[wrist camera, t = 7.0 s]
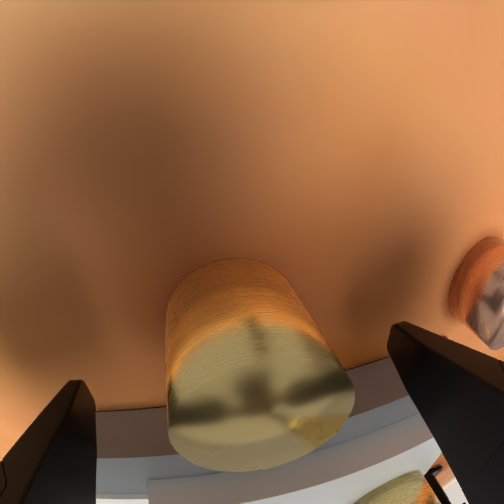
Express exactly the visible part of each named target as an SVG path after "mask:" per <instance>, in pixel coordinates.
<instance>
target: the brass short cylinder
mask: <svg viewBox="0 0 504 504" xmlns="http://www.w3.org/2000/svg"><path fill="white" fill-rule="evenodd" d="M354 504H441V503H440V501H439V500H438V498H437V496H436V495H435V493H434V492H433V490H432V488H431V487H430V485H429V484H428V482H427V480H426V479H425V477H424V475H423V474H422V472H421V471H420V470H414V471H410V472H408V473H405V474H403V475H400V476H398V477H396V478H394V479H392V480H390V481H388V482H386V483H384V484H382V485H381V486H379V487H377V488H375V489H374V490H372V491H370V492H369V493H367V494H366V495H364V496H363V497H361V498H360V499H358V500H357V501H356V502H355V503H354Z"/></svg>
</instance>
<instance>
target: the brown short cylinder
mask: <svg viewBox="0 0 504 504" xmlns="http://www.w3.org/2000/svg"><path fill="white" fill-rule="evenodd" d="M448 303H449V308H450V311H451V313H452V314H453V315H454V316H455V317H456V318H458V319H459V320H460V321H461V322H462V323H463V324H464V325H465V326H466V327H468V328H469V329H470V330H471V331H472V332H473V333H474V334H475V335H476V336H477V337H478V338H480V339H481V340H482V341H483V342H484V343H485V344H486V345H487V346H488V347H489V348H490V349H492V350H497V349H500V348H502V347H504V242H503V241H501V240H499V239H497V238H495V237H487V238H485V239H483V240H481V241H479V242H478V243H477V244H476V245H475V246H473V248H472V249H471V250H470V251H469V252H468V253H467V255H466V256H465V257H464V259H463V260H462V262H461V264H460V265H459V267H458V269H457V271H456V273H455V275H454V278H453V281H452V284H451V287H450V291H449V298H448Z"/></svg>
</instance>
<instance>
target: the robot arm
mask: <svg viewBox="0 0 504 504" xmlns="http://www.w3.org/2000/svg"><path fill="white" fill-rule="evenodd" d="M387 350H388V353H389V355H390V357H391V359H392V361H393V363H394V365H395V368H396V370H397V372H398V374H399V376H400V378H401V381H402V383H403V385H404V387H405V389H406V391H407V392H408V394H409V396H410V398H411V399H412V401H413V403H414V404H415V406H416V408H417V409H418V411H419V413H420V415H421V416H422V418H423V420H424V421H425V423H426V425H427V427H428V428H429V430H430V432H431V434H432V435H433V437H434V439H435V441H436V443H437V444H438V446H439V448H440V450H441V451H442V453H443V455H444V457H445V459H446V461H447V462H448V464H449V466H450V468H451V470H452V472H453V473H454V475H455V477H456V479H457V481H458V483H459V485H460V487H461V488H462V491H463V493H464V495H465V497H466V499H467V501H468V503H469V504H504V362H503V361H501V360H498V359H496V358H493V357H491V356H489V355H486V354H484V353H481V352H479V351H476V350H474V349H471V348H469V347H467V346H464V345H462V344H459V343H457V342H454V341H452V340H449V339H447V338H445V337H442V336H440V335H437V334H435V333H432V332H430V331H428V330H425V329H423V328H420V327H418V326H415V325H413V324H411V323H408V322H406V321H402V322H398V323H395V324H393V325H392V327H391V330H390V334H389V338H388V343H387ZM2 460H3V461H0V504H96V470H97V438H96V410H95V401H94V398H93V397H92V395H91V393H90V391H89V389H88V387H87V386H86V384H85V382H84V381H83V380H70V381H68V382H67V383H66V384H65V385H64V387H63V388H62V389H61V390H60V391H59V392H58V393H57V395H56V396H55V397H54V398H53V399H52V400H51V402H50V403H49V404H48V405H47V406H46V407H45V408H44V410H43V411H42V412H41V413H40V414H39V415H38V417H37V418H36V419H35V420H34V421H33V423H32V424H31V425H30V426H29V427H28V429H27V430H26V431H25V432H24V433H23V434H22V436H21V437H20V438H19V439H18V441H17V442H16V443H15V444H14V445H13V447H12V448H11V449H10V450H9V452H8V453H7V454H6V455H5V456H4V458H3V459H2ZM442 469H443V467H442V466H441V465H440V466H438V467H437V468H435V469H433V470H431V471H429V472H427V473H426V474H425V475H424V477H425V479H426V480H427V482H428V484H429V485H430V487H431V488H432V490H433V492H434V493H435V495H436V496H437V498H438V500H439V501H440V503H441V504H451V502H450V501H449V499H448V497H447V495H446V494H445V492H444V490H443V489H442V487H441V486H440V484H439V482H438V481H437V479H436V478H435V477H436V476H437V475H438V473H439V472H440V471H441V470H442ZM463 504H466V503H463Z"/></svg>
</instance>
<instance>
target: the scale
mask: <svg viewBox="0 0 504 504" xmlns="http://www.w3.org/2000/svg"><path fill="white" fill-rule="evenodd" d="M444 337H445V338H447V337H446V336H444ZM447 339H448V338H447ZM345 372H346V373H347V375H348V376H349V378H350V380H351V381H352V383H353V386H354V389H355V401H354V405H353V408H352V411H351V413H350V415H349V417H348V419H347V420H346V422H345V423H344V425H343V426H342V427H341V428H340V429H339V430H338V432H337V433H336V434H335V435H333V436H332V437H331V438H330V439H329V440H328V441H326V442H325V443H324V444H323V445H321V446H320V447H318V448H317V449H315V450H313V451H312V452H310V453H308V454H306V455H304V456H302V457H300V458H298V459H296V460H293V461H291V462H288V463H286V464H283V465H279V466H276V467H272V468H268V469H263V470H257V471H248V472H226V471H217V470H212V469H208V468H204V467H201V466H198V465H196V464H194V463H192V462H190V461H188V460H186V459H185V458H183V457H182V456H181V455H180V454H179V453H178V452H177V451H176V450H175V449H174V448H173V446H172V444H171V442H170V439H169V436H168V422H167V407H160V408H150V409H139V410H126V411H110V412H96V438H97V470H96V504H354V503H355V502H356V501H357V500H358V499H360V498H361V497H363V496H364V495H366V494H367V493H369V492H370V491H372V490H374V489H375V488H377V487H379V486H381V485H382V484H384V483H386V482H388V481H390V480H392V479H394V478H396V477H398V476H400V475H403V474H405V473H408V472H410V471H414V470H420V471H421V472H422V474H423V475H425V474H426V473H427V471H428V470H429V469H430V467H431V466H432V465H433V463H434V462H435V461H436V459H437V458H438V457H439V455H440V454H441V453H442V451H441V450H440V448H439V446H438V444H437V443H436V441H435V439H434V437H433V435H432V434H431V432H430V430H429V428H428V427H427V425H426V423H425V421H424V420H423V418H422V416H421V415H420V413H419V411H418V409H417V408H416V406H415V404H414V403H413V401H412V399H411V398H410V396H409V394H408V392H407V391H406V389H405V387H404V385H403V383H402V381H401V378H400V376H399V374H398V372H397V370H396V368H395V365H394V363H393V361H392V359H391V357H388V358H385V359H382V360H379V361H376V362H373V363H370V364H367V365H363V366H360V367H357V368H354V369H350V370H347V371H345Z"/></svg>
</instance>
